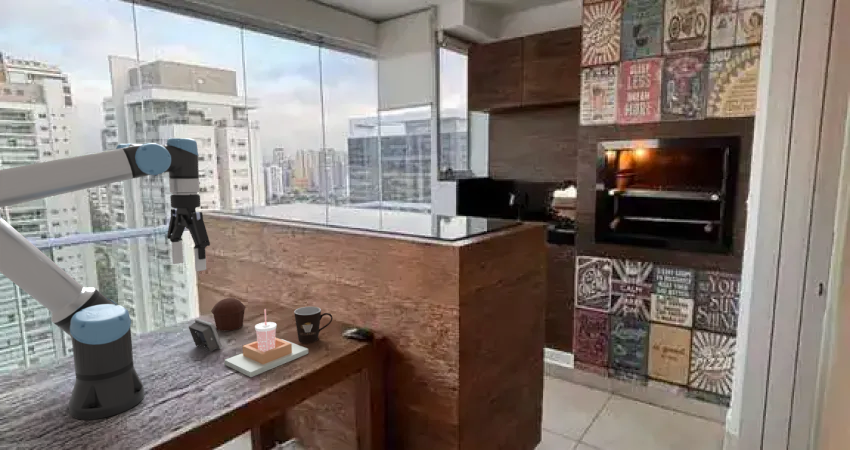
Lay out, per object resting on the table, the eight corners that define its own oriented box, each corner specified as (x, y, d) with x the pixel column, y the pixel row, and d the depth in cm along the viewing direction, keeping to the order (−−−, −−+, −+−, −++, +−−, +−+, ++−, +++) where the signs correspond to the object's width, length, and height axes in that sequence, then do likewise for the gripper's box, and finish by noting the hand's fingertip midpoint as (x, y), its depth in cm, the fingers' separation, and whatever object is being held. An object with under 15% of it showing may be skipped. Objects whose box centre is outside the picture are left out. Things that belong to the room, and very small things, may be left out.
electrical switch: (223, 348, 147) (218, 321, 145) (207, 356, 143) (203, 328, 141) (205, 342, 152) (201, 316, 150) (190, 349, 148) (186, 322, 146)
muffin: (217, 321, 171) (215, 295, 169) (248, 320, 173) (247, 294, 171) (208, 333, 159) (206, 305, 158) (242, 331, 161) (241, 304, 160)
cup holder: (250, 377, 128) (250, 361, 127) (224, 364, 135) (224, 350, 135) (308, 353, 144) (307, 339, 143) (282, 343, 151) (281, 330, 151)
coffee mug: (290, 343, 152) (289, 313, 150) (303, 333, 160) (302, 305, 159) (322, 346, 149) (322, 316, 148) (334, 336, 157) (333, 308, 156)
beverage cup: (277, 348, 143) (275, 305, 141) (277, 356, 138) (276, 311, 136) (256, 351, 141) (254, 307, 139) (256, 359, 136) (254, 313, 134)
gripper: (221, 195, 127) (224, 271, 130) (177, 190, 142) (181, 258, 145) (193, 196, 121) (197, 276, 124) (151, 191, 136) (156, 262, 139)
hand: (189, 266), depth 134 cm, fingers open, 13 cm apart
